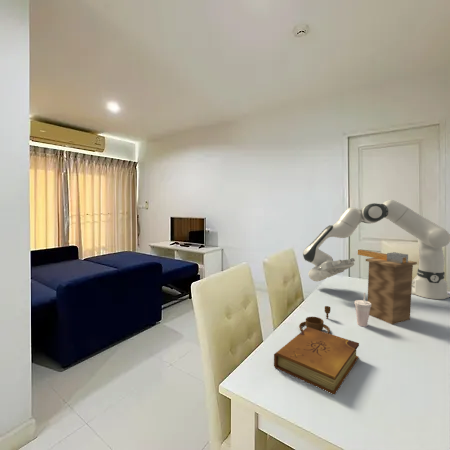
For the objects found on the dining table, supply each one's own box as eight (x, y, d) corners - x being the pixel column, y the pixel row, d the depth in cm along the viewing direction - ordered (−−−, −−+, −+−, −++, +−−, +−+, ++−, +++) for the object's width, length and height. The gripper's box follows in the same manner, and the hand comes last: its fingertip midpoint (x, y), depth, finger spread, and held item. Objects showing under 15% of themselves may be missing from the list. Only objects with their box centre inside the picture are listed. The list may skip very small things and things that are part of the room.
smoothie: (372, 328, 109) (374, 295, 108) (356, 327, 110) (357, 294, 109) (367, 322, 115) (369, 290, 114) (352, 320, 116) (353, 289, 115)
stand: (363, 313, 124) (365, 258, 122) (383, 308, 129) (385, 256, 127) (393, 326, 111) (395, 265, 109) (413, 320, 117) (416, 262, 115)
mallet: (355, 254, 132) (356, 247, 132) (362, 254, 134) (363, 247, 134) (400, 263, 112) (400, 255, 112) (407, 262, 114) (408, 254, 114)
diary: (305, 340, 101) (305, 326, 100) (358, 359, 88) (359, 343, 88) (273, 368, 83) (274, 350, 83) (334, 396, 71) (334, 376, 71)
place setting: (289, 324, 114) (289, 311, 114) (326, 317, 121) (327, 305, 121) (316, 344, 98) (316, 329, 97) (357, 335, 105) (358, 320, 104)
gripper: (313, 264, 148) (330, 256, 137) (340, 261, 157) (358, 253, 145) (317, 275, 146) (334, 268, 134) (344, 271, 154) (363, 264, 143)
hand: (347, 260), depth 140 cm, fingers open, 8 cm apart
